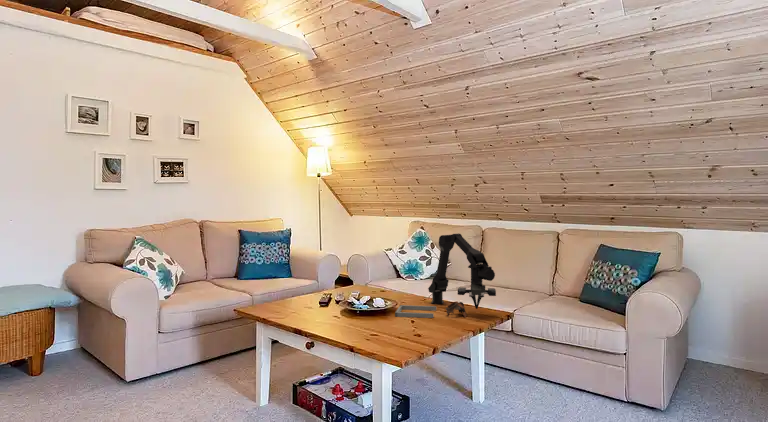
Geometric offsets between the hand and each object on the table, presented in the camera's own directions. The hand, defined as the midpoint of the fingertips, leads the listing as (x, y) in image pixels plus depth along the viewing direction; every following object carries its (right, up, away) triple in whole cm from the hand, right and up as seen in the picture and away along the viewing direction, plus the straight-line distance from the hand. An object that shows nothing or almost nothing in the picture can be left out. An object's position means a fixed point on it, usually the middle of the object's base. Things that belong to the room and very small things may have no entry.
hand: (476, 308), depth 251 cm
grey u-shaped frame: (-30, -4, +6) cm, 31 cm away
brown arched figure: (-10, -4, +1) cm, 10 cm away
